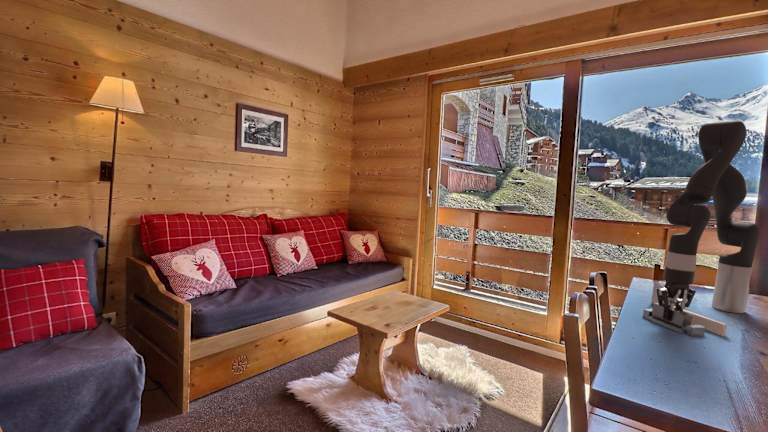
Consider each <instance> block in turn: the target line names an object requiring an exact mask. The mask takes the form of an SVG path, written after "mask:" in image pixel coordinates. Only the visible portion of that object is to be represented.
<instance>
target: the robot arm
mask: <svg viewBox="0 0 768 432" xmlns="http://www.w3.org/2000/svg"><path fill="white" fill-rule="evenodd" d="M697 135H698V137H697V139H698V145H699V148H700V153H701V154H702V157H703V161H704V162H705V163H704V164H702V165H701V166H699V167H698V168H697V169H696V170H695V171H694V172H693V173H692V174H691V176H690V177H689V180H688V182H687V184H686V186H685V188H684V190H683V191H682V193H681V194H680V195H679V196H678V197H677V198H676V199H675V200H674V201H673V202H672V203H671V204H670V206H669V207H668V209H667V211H666V220H667V223H669V224H670V225H673V226H678V227H687V228H690V229H689V231H687V232H684V233H673V234H672V235H671V236H670V238H669V246H668V250H667V251H668V252H667V255H666V259H665V265H664V270H663V280H664V281H665V283H666V284H665V286H664V288H662V289H659V288H658V289H657V297H658V303H659V305H660V306H662V307H664V312H663V319H664V320H667V321H671V319H672V312H673V310H672V309H673V307H674V304H675V307H674V308H676V309H678V310H681V311H683V310H686V309H685V308H689V307H690V306H691V303H692V301H693V299H694V296H695V295H696V290H695V289H691V288H690V286H691V285H693V284H694V280H695V279H694V278H695V273H696V268H697V254H698V247H699V242H700V240H701V237H702V236H703V232H704V231H705V229H706V228H707V225H708V224H709V222H710V221H711V211H710V209H709V208H708V207H707V206H705V205H703V204H706V203H708V202H709V201H710V200H711V198H712V202H713V207H714V211H715V222H716V235H717V240H718V241H719V242H720V244H721V245H726V246H729V247H730V246H731V247H736V248H737V247H738V248H740V250H739V251H738V252H734V253H728V254H721V255H720V256H719V258H718V263H717V264H718V265H717V271H716V276H715V284H714V290H713V293H712V294H713V295H712V300H711V301H712V302H711V307H712V308H714V309H717V310H719V311H723V312H726V313H727V312H728V313H732V314H745V312H747V311H746V309H747V304H748V299H749V294H750V280H751V276H752V275H751V273H752V269H753V263H754V260H755V255H756V251H757V245H758V242H759V238H760V227H759V224H756V223H752V222H745V221H744V222H743V221H736V220H735V221H733V220H732V214H733V213H734V211H736V209H737V208H738V207H739V206H740V205H741V204H742V203H743V202H744V201H745V199H746V197H747V193H748V192H747V186H746V180H745V177H744V176H743V174H742V172H740V170H738V169H737V167H735V166H734V165H732V164H731V163H732V161H733V160H734V158H735V157H736V156H737V154H738V153H739V151H740V149H741V148H742V146H743V145H744V143H745V140H746V137H747V128H746V124H745V123H744V122H743V121H740V120H729V121H727V120H726V121H716V122H715V121H714V122H707V123H704V124H702V125H701V126H700V128H699V130H698V134H697ZM668 297H669V298H672V300H671V299H669V298H668ZM663 301H664V303H663ZM669 301H670V305H669Z"/></svg>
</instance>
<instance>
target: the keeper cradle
mask: <svg viewBox="0 0 768 432" xmlns="http://www.w3.org/2000/svg"><path fill="white" fill-rule="evenodd" d="M652 310H653V308H644V309H643V314H642V317H644V319H646V320H647V321H650V322H652V323H654V324H657V325H660V326H663V327H665V328H667V329H670V330H672V331H675V332H677V333H678V334H685V335H688V336H691V337H698V336H705V331H706V330H705V328H706V327H703V326H701V325H692V324H691V325H686V331H684V330H683V329H680V328H678V327H675V326H673V325H670V324H667V323H665V322H662V321H660V320H657V319H655V318H652V317H651V314H652Z"/></svg>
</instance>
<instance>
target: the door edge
mask: <svg viewBox="0 0 768 432" xmlns="http://www.w3.org/2000/svg"><path fill="white" fill-rule="evenodd" d="M674 307H675V306H674ZM683 312H686V313H688V314H691V315H693V317H692V321H691V325H701V326H703V327H706V328H705V331H708V332H710V333H713V334H716V335H719V336H723V337H725V336H726V335H727V328H728V324H727V323H725V322H721V321H719V320H717V319H713V318H710V317H706V316H703V315H702V314H698V313H696V312H695V313H694V312H693V311H690V310H687V309H684V310H683Z"/></svg>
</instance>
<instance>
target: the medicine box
mask: <svg viewBox="0 0 768 432" xmlns="http://www.w3.org/2000/svg"><path fill="white" fill-rule="evenodd" d="M665 284H666V282H660V281H658V282H657V281H656V282H653V288H652V295H651V305H652V306H653V305H654V303H658V297H657V289H658V288H659V289H662V288H664V286H665ZM668 298H669V297H668ZM669 299H671V300H672V298H669ZM663 303H664V301H663ZM669 305H670V301H669ZM674 306H675V304H674Z"/></svg>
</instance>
